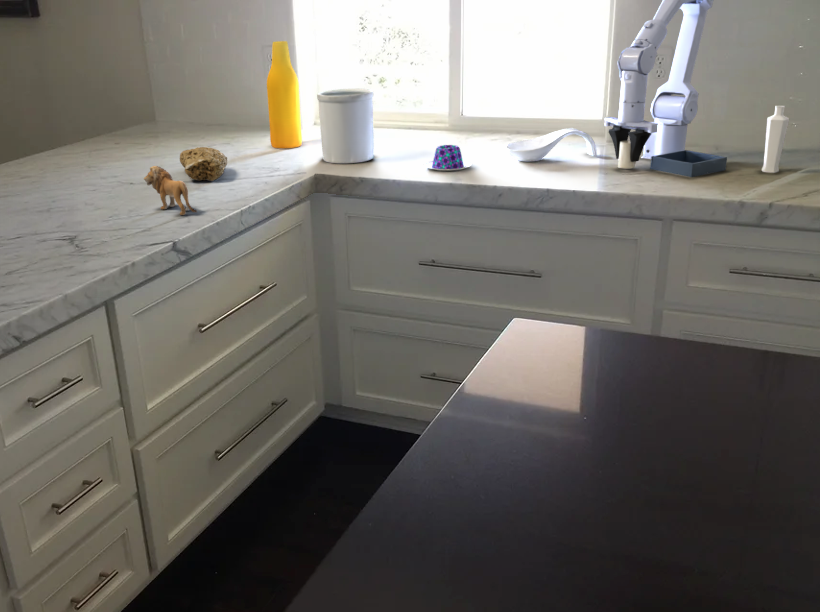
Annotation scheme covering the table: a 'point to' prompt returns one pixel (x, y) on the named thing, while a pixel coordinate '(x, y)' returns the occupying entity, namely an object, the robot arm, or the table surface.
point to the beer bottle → (283, 99)
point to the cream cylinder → (625, 155)
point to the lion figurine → (168, 188)
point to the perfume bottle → (774, 139)
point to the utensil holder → (346, 125)
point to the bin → (688, 163)
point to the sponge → (203, 163)
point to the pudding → (447, 159)
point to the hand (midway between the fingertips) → (627, 159)
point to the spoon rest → (545, 145)
